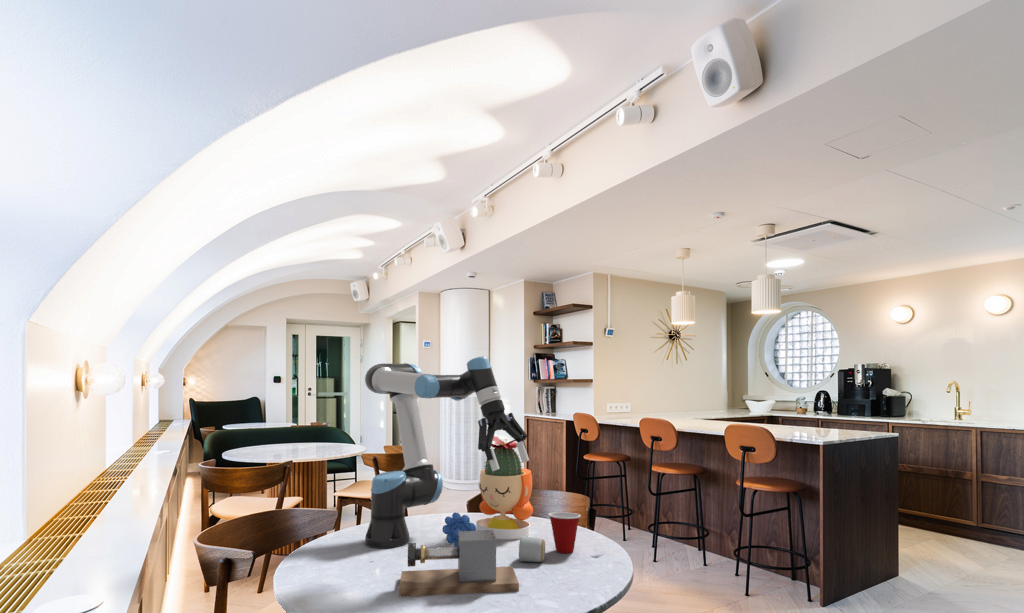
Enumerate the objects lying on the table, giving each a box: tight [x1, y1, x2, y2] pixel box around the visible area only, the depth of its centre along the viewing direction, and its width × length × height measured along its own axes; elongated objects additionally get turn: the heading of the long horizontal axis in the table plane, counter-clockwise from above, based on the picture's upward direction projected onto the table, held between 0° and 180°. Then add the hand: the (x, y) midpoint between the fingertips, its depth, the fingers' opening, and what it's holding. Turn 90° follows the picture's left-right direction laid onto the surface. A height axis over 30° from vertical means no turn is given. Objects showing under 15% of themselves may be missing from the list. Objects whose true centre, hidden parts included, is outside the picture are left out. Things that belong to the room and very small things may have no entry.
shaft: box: [407, 542, 459, 568], centre depth 163 cm, size 18×6×6 cm, turn 97°
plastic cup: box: [548, 511, 582, 554], centre depth 194 cm, size 11×11×12 cm
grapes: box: [442, 511, 476, 547], centre depth 195 cm, size 12×7×12 cm, turn 88°
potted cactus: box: [475, 435, 534, 540], centre depth 220 cm, size 22×22×35 cm
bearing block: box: [457, 530, 497, 583], centre depth 164 cm, size 10×10×11 cm
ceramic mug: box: [518, 536, 546, 563], centre depth 185 cm, size 10×8×7 cm
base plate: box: [398, 566, 520, 598], centre depth 163 cm, size 32×14×2 cm, turn 97°
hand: (511, 465), depth 185 cm, fingers open, 13 cm apart
